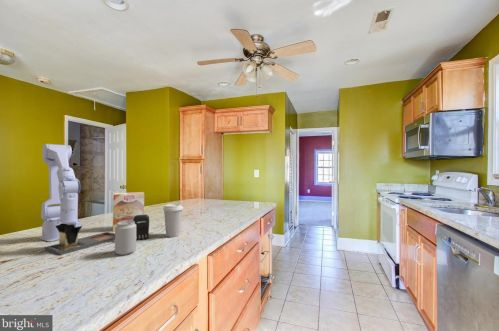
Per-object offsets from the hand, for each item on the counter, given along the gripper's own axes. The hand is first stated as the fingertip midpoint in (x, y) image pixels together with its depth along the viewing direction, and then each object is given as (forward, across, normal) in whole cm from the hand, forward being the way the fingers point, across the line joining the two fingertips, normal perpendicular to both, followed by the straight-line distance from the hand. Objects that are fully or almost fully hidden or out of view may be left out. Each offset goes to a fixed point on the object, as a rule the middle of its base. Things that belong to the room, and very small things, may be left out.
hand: (68, 242), depth 95 cm
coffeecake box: (+3, -7, +32) cm, 33 cm away
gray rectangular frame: (+2, 0, +7) cm, 7 cm away
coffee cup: (+3, +24, +34) cm, 42 cm away
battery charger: (+3, +16, +22) cm, 27 cm away
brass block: (+2, 0, 0) cm, 2 cm away
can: (+3, +25, +8) cm, 26 cm away
